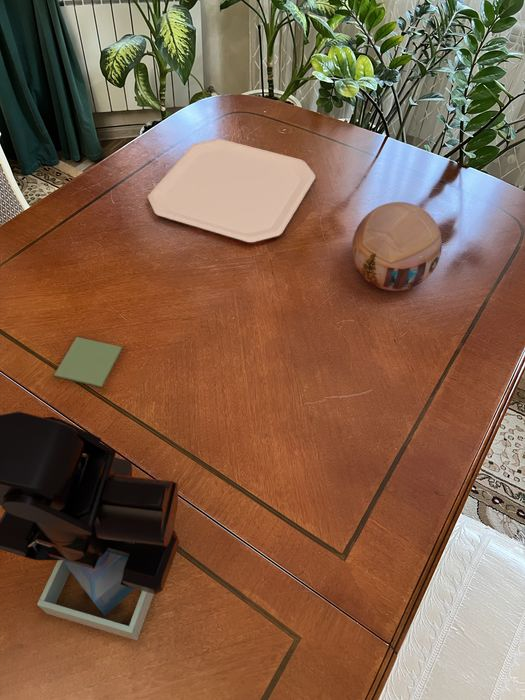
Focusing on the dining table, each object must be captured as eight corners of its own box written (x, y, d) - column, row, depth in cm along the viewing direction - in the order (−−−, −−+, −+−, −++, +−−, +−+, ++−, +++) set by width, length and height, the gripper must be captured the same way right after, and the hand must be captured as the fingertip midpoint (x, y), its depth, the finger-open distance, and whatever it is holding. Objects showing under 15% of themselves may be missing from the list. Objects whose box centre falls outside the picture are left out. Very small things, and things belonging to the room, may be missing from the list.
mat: (54, 376, 90) (53, 374, 89) (77, 338, 94) (76, 336, 94) (101, 387, 88) (101, 386, 88) (122, 348, 93) (121, 346, 93)
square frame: (46, 613, 68) (36, 604, 65) (88, 522, 75) (81, 510, 72) (137, 640, 67) (131, 633, 64) (171, 544, 74) (168, 533, 71)
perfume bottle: (117, 542, 74) (97, 505, 64) (146, 578, 71) (130, 545, 62) (75, 577, 71) (49, 543, 62) (104, 615, 68) (81, 587, 59)
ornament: (355, 310, 99) (369, 245, 87) (340, 252, 108) (351, 185, 97) (439, 306, 100) (464, 240, 89) (417, 248, 110) (437, 181, 98)
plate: (137, 216, 114) (135, 207, 112) (202, 141, 130) (201, 132, 128) (272, 257, 107) (272, 248, 106) (322, 172, 124) (323, 164, 122)
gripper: (190, 462, 58) (200, 520, 71) (23, 420, 61) (61, 483, 73) (149, 570, 52) (168, 614, 64) (-36, 518, 54) (17, 569, 67)
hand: (102, 564), depth 67 cm, fingers closed on perfume bottle, 8 cm apart
